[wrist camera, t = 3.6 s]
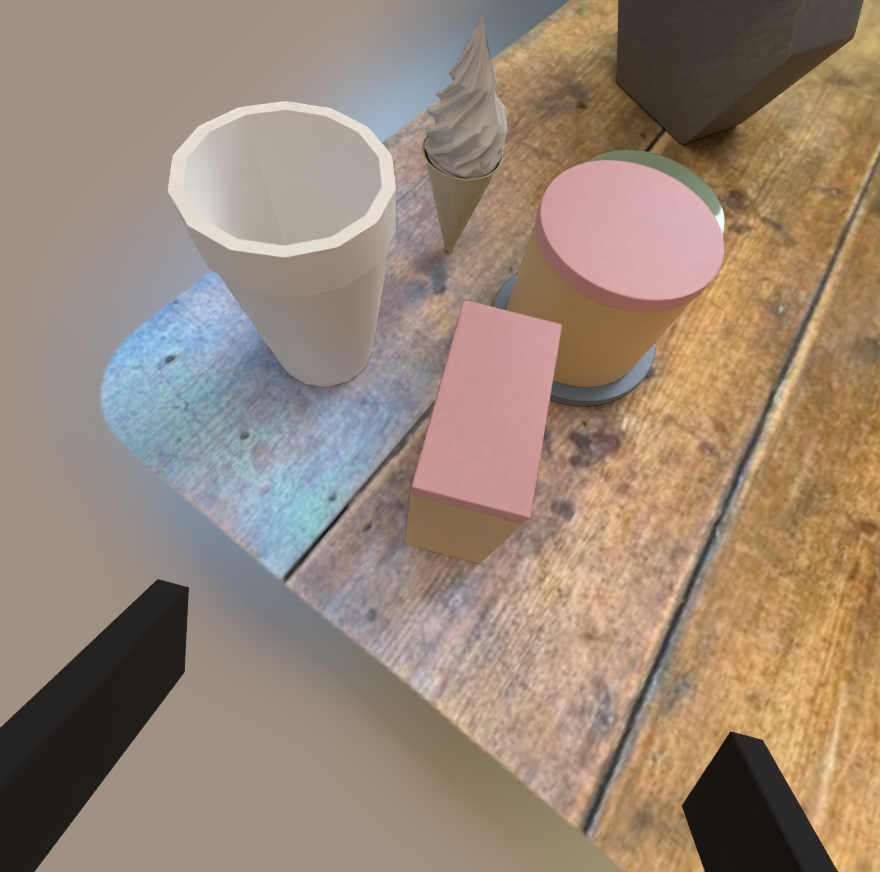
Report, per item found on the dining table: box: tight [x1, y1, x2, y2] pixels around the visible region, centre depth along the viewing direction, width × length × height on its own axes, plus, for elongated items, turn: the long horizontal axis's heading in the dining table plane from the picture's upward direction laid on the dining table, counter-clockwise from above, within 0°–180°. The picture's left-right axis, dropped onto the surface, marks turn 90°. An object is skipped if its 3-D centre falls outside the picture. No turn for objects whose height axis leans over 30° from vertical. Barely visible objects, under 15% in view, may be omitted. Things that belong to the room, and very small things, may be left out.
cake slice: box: [405, 300, 562, 564], centre depth 24 cm, size 9×4×11 cm, turn 166°
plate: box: [586, 150, 725, 235], centre depth 40 cm, size 13×13×1 cm
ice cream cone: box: [422, 14, 507, 252], centre depth 30 cm, size 5×5×15 cm
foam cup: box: [168, 101, 396, 387], centre depth 26 cm, size 10×9×13 cm
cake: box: [492, 160, 724, 406], centre depth 30 cm, size 12×12×10 cm
